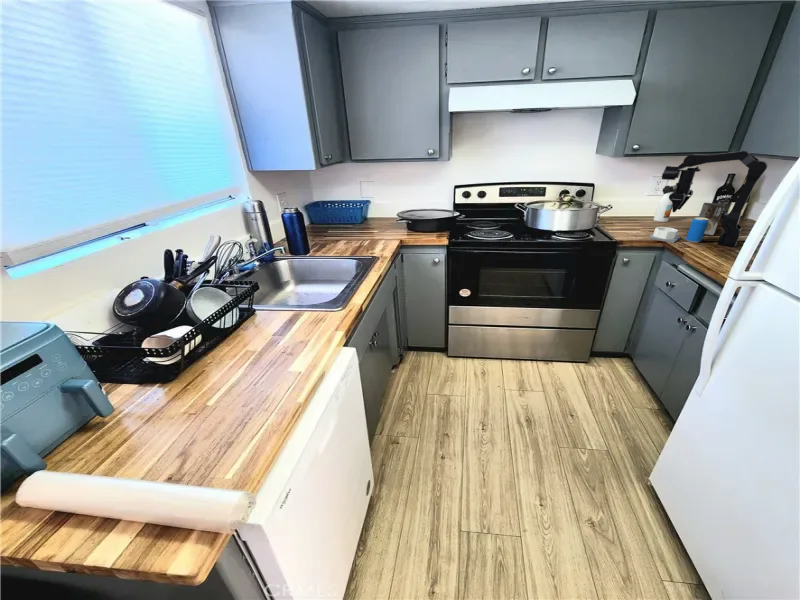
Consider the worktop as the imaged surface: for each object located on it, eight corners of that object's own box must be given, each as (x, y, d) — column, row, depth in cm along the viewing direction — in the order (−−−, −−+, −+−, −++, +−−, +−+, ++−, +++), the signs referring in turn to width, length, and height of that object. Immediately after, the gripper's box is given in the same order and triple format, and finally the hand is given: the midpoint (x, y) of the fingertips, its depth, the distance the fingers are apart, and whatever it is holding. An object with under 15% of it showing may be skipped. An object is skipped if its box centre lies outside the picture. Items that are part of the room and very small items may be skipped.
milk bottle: (656, 222, 215) (667, 189, 206) (650, 219, 222) (660, 187, 213) (670, 222, 214) (681, 189, 205) (663, 219, 220) (674, 187, 211)
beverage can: (700, 243, 174) (709, 220, 169) (685, 241, 178) (693, 219, 172) (700, 240, 179) (709, 218, 173) (685, 238, 182) (693, 216, 177)
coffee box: (714, 233, 191) (725, 203, 183) (713, 235, 186) (725, 205, 179) (693, 230, 196) (704, 202, 189) (692, 232, 192) (703, 204, 185)
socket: (680, 238, 183) (683, 229, 181) (673, 242, 176) (676, 233, 174) (654, 234, 192) (657, 225, 189) (647, 238, 185) (650, 229, 183)
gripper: (672, 177, 186) (663, 206, 193) (661, 181, 176) (653, 211, 182) (697, 178, 178) (688, 208, 185) (688, 182, 168) (678, 214, 175)
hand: (676, 210), depth 182 cm, fingers open, 9 cm apart
